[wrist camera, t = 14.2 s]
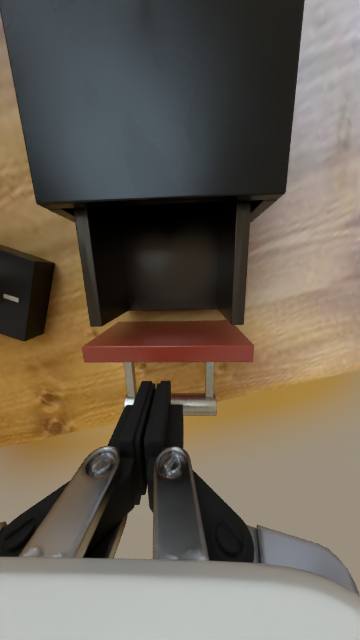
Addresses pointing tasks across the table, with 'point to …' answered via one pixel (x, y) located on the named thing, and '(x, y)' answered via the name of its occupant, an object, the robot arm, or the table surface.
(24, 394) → the table surface
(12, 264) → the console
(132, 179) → the small drawer unit
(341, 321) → the table surface
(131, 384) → the red drawer with handle
